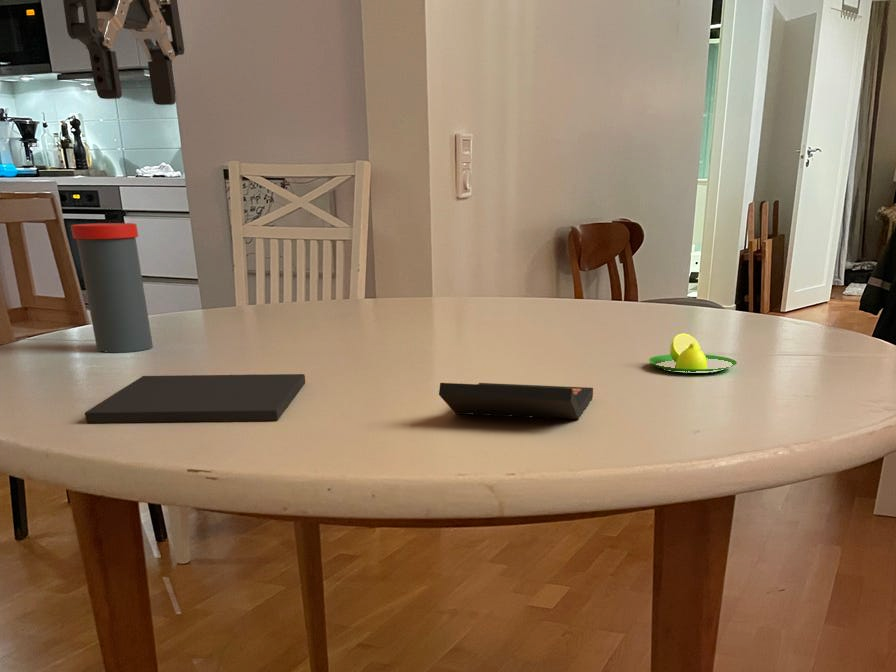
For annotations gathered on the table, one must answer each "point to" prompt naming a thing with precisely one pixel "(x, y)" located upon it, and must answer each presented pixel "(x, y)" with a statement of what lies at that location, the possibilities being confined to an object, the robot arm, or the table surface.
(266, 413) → the mat
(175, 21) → the robot arm
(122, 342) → the tumbler
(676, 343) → the lemon
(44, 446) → the table surface
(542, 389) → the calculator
